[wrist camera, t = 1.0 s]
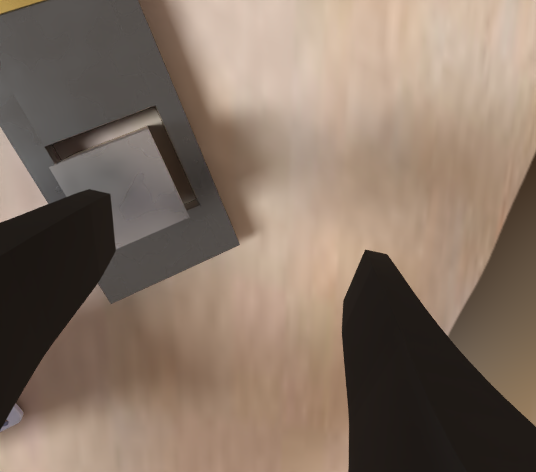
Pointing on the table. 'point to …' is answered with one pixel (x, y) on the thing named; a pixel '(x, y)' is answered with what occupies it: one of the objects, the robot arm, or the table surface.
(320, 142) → the table surface
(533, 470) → the robot arm
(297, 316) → the table surface
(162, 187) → the grey rectangular block
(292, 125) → the table surface
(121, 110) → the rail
